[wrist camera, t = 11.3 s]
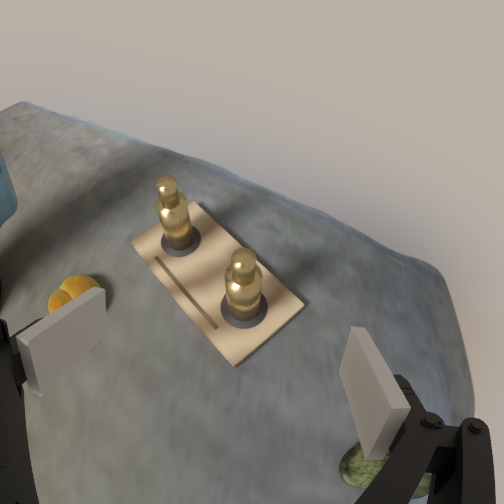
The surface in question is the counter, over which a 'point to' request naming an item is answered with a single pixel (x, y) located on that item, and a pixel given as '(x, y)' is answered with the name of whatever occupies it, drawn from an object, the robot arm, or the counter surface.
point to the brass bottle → (243, 285)
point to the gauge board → (215, 286)
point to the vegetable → (371, 471)
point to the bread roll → (70, 291)
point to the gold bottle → (174, 214)
